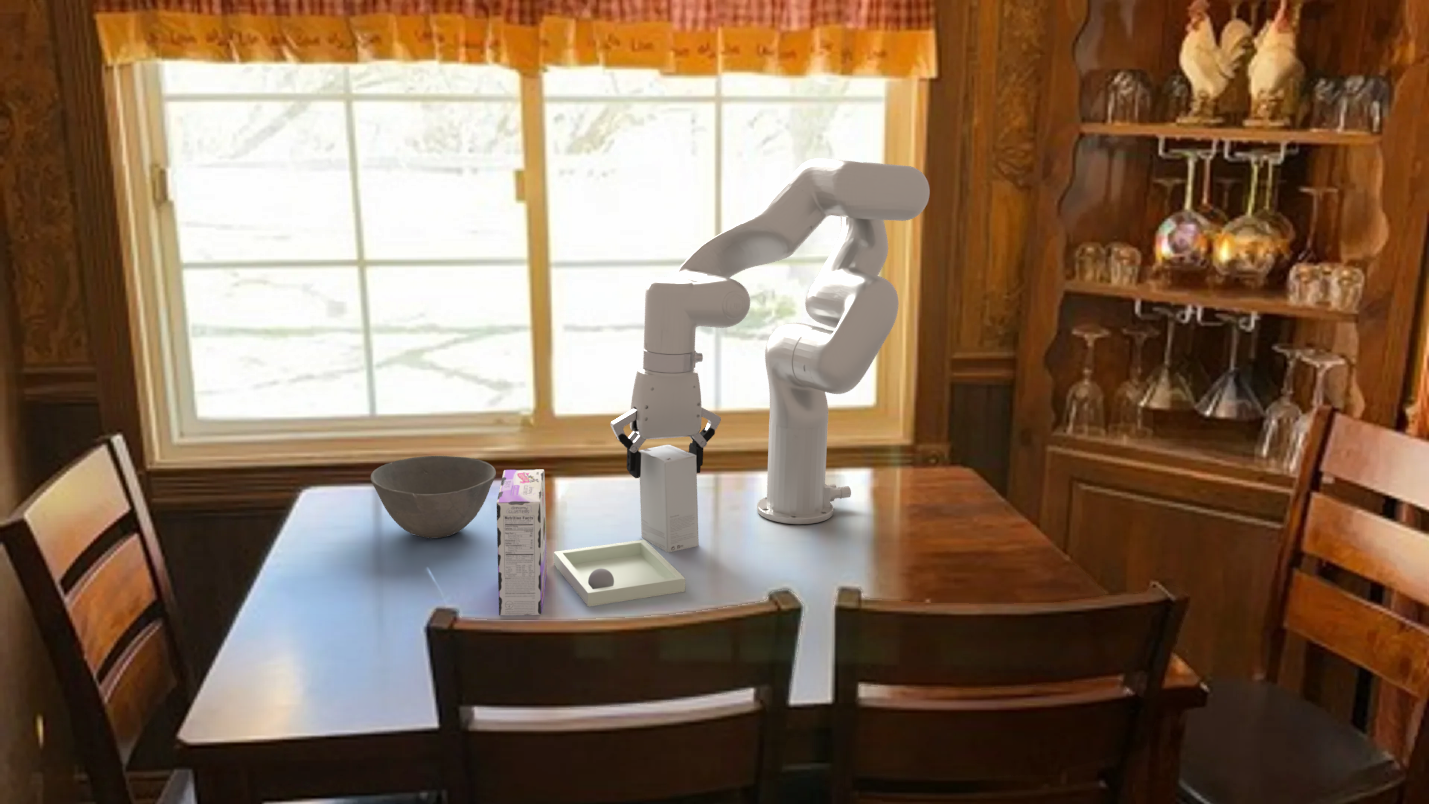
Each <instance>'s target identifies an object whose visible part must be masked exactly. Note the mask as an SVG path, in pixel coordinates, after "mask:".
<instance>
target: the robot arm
mask: <svg viewBox="0 0 1429 804" xmlns="http://www.w3.org/2000/svg"><path fill="white" fill-rule="evenodd" d="M930 192H931V191H930V184H929V181H928V179H927V178H926V176H925V174H924V173H923V172H922V171H921V170H919V169H918V168H917V167H914V166H910V165H901V164H889V163H888V164H887V163H878V162H867V161H866V162H864V161H863V162H861V161H860V162H859V161H854V160H842V159H832V158H831V159H830V158H813V159H809V160H807V161H805V162H803V163H802V164H801V165H800V166H798V168H797V169H795V171H794V172H793V173H792V174H791V175H790V176H788V178H787V179H786V180H785V181H784V182H783V183H782V184H781V185H780V186H779V187H778V188H777V190H775V192H774V193H773V194H771V196H770V197H769V198H768V199H767V200H766V201H765V202H764V203H763V204H762V206H761V207H760V208H759V209H758V210H756V212H755V213H753V215H752V216H751V217H749V218H748V219H745V220H743V221H741V222H739V223H737V224H735V225H733V226H732V227H730V228H727V230H724V231H723V232H721V233H719V234H718V235H716V236H714V237H712V238H710V239H709V240H708V241H706V242H705V243H703V244H702V245H700V246H699V247H698V248H697V249H696V250H695V251H694V252H693V253H692V254H691V255H689V256H688V258H687V259H685V261H684V262H683V263H682V264H681V265H680V267H679V268H678V269H677V270H676V271H675V273H674V274H673V276H672V277H671V276H670V277H669V276H666V277H665V276H664V277H660V276H659V277H655V278H652V279H649V281H648V282H647V283H646V287H645V297H644V301H645V302H644V329H643V330H644V331H643V333H644V334H643V336H644V337H643V359H642V360H643V362H642V363H643V364H642V365H643V366H642V368H640V369H637V372H636V375H635V380H634V384H633V390H632V396H631V405H630V410H629V411H627V412H626V413H624V414H622V415H620V416H619V417H617V418H616V419H614V420H612V421H611V422H610V427H611V430H612V432H613V433H614V435H615V438H616V439H617V441H618V442H620V443H621V445H623V446H624V447H625V448H626V471H628V473H629V474H630V475H631V476H632V477H633V478H634V479H640V476H641V453H640V452H639V450H640V448H641V447H642V445H643V444H645V442H646V441H647V440H659V439H660V440H661V439H662V440H663V439H677V438H686V437H687V438H688V437H689V438H690V440H691V441H692V442H689V445H688V452H689V453H692V454H694V455H696V467H697V474H700V473H701V468H702V467H701V466H703V463H704V448H706V447H707V445H708V442H709V441H710V440H711V439H712V437H714V436H715V434H716V430H717V429H718V426H719V425H720V423H721V421H722V417H721V416H719V415H718V414H716V413H714V412H712V411H710V410H708V409H706V408H704V407H702V394H701V393H702V392H701V385H700V378H699V372H698V370H696V369H695V368H696V364H697V363H701V362H703V359H704V358H703V357H704V356H703V353H701V352H697V351H696V331H697V330H696V329H697V327H705V328H706V327H708V328H717V329H718V328H720V329H723V328H725V329H726V328H731V327H734V326H737V324H740V323H741V322H742V321H743V320H744V319H746V317H747V315H748V313H749V311H750V308H751V307H750V306H751V297H750V294H749V292H748V290H747V289H746V287H745V286H744V285H743V284H742V283H740V281H737V280H735V279H733V278H731V277H733V276H735V275H737V274H738V273H741V272H743V271H745V270H747V269H750V268H754V267H755V268H756V267H757V266H763V265H768V264H773V263H775V262H779V261H781V260H784V259H787V258H789V257H790V256H792V255H794V253H795V252H796V251H797V250H798V249H799V248H800V246H802V245H803V244H804V242H805V241H806V240H807V239H808V238H809V237H810V236H811V234H813V233H814V231H816V229H817V228H818V227H819V225H821V224H822V223H823V222H824V221H825V219H826V218H828V217H829V216H835V217H840V223H841V224H840V233H839V236H838V239H837V241H836V243H835V244H834V247H833V249H832V250H831V252H830V254H829V255H828V257H827V259H826V260H825V262H824V263H823V265H822V267H821V268H820V270H819V272H818V274H817V275H816V277H815V279H814V280H813V282H812V284H811V285H810V287H809V290H808V291H807V294H806V297H805V302H804V303H805V304H804V305H805V310H806V313H807V314H808V316H809V317H810V318H812V320H813V321H816V322H817V323H819V324H820V325H821V324H822V325H823V326H828V327H831V328H834V330H830V329H826V328H824V327H819V326H815V325H811V324H806V323H802V322H790V323H785V324H783V325H780V326H778V327H777V328H775V330H774V331H773V332H772V333H771V335H769V337H768V339H767V342H766V344H765V345H766V346H765V349H764V350H765V351H764V361H765V368H766V373H767V379H768V388H769V390H768V391H769V420H768V421H769V422H768V451H767V452H768V453H767V455H768V456H767V479H766V480H767V482H766V483H767V485H766V496H765V497H763V498H762V499H760V500H758V502H757V505H756V506H757V507H756V509H757V510H756V511H757V513H758V514H759V515H760V516H762V518H765V519H767V520H769V521H772V522H777V523H781V524H790V525H808V524H809V525H811V524H816V523H821V522H824V521H826V520H829V519H830V518H831V517H832V516H834V505H833V504H832V503H833V502H835V500H837V499H839V500H841V499H847V498H851V496H852V490H851V488H850V486H848V485H847V486H839V487H837V485H836V484H835V483H833V484H826V472H827V470H826V469H827V448H828V424H829V404H828V399H827V395H826V393H828V394H832V395H842V394H846V393H848V392H850V391H851V390H853V389H854V388H855V387H857V385H858V384H859V383H860V382H861V381H862V379H863V377H865V375H866V374H867V372H868V370H869V369H870V367H871V365H872V363H873V361H874V360H875V358H876V356H877V355H878V353H879V351H880V350H881V348H882V346H883V345H884V343H885V341H886V339H887V338H888V336H889V334H890V333H891V331H892V329H893V327H894V325H895V323H896V321H897V316H898V310H899V295H898V293H897V290H896V288H895V286H894V285H893V284H892V283H891V282H890V281H889V280H888V279H886V278H885V277H883V276H880V272H881V271H882V269H883V268H884V267H883V266H884V265H885V263H886V260H887V258H888V253H889V240H888V234H887V231H886V227H885V226H886V225H885V221H901V222H903V221H904V222H906V221H911V220H912V219H915V218H917V217H918V216H920V214H922V212H923V211H924V210H925V208H926V206H927V205H928V204H929V200H930V199H929V198H930ZM702 418H704V419H705V420H707V423H706V426H704V428H702ZM628 425H629V427H630V428H629V429H630V430H631V431H632V432H631V434H630V435H629V436H627V434H626V433H625V430H624V428H625V427H626V426H628ZM701 429H702V430H701Z"/></svg>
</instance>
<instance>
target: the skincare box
mask: <svg viewBox="0 0 1429 804" xmlns="http://www.w3.org/2000/svg"><path fill="white" fill-rule="evenodd" d="M638 451H639V452H640V453H641V476H640V477H639V497H640V498H639V499H640V500H639V503H640V527H641V537H642V539H643V540H644V539H645V540H646V541H647V542H648V543H649V544H652V545H653V546H655V547H657V548H659V549H661V550H663V551H664V552H666V553H671V552H676V551H677V552H678V551H681V550H685V549H690V548H694V547H699V544H700V543H699V510H698V509H699V508H698V507H699V505H698V479H697V478H698V475H697V474H698V473H697V467H696V455H694V454H692V453H689V451H686V450H684V449H682V448H679V447H677V446H674V445H671V443H669V444H663V445H659V446H655V447H654V446H653V447H649V448H644V449H638Z"/></svg>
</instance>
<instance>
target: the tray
mask: <svg viewBox="0 0 1429 804" xmlns="http://www.w3.org/2000/svg"><path fill="white" fill-rule="evenodd" d="M553 565H554V566H555V567H556V569H557V571H558V572H560V574H561V575H562V576H563V577H564V579H565V580H566V581H567V583H568V584H569V585H570V586H571V588H573V590H574V591H575V592H576V594H577V595H578V596H579V597H580V599H582V601H583V603H584V604H585V605H586V606H587V607H594V606H595V607H596V606H601V605H607V604H614V603H619V602H620V603H621V602H626V601H634V600H640V599H646V598H652V597H659V596H665V595H670V594H671V595H672V594H677V593H685V592H686V577H684V575H682V573H681V572H680V571H679V570H677V569H676V568H675V567H674V566H673V565H672V564H671V563H670V562H669V561H668V560H667V559H666V558H665V557H664V556H662V555H661V553H659V552H658V550H656V549H655V548H654V547H653V546H652V545H651V543H650V542H649V541H647V540H645V539H644V538H643V539H639V540H638V539H637V540H630V541H624V542H617V543H608V544H603V545H593V546H587V547H577V548H571V549H565V550H564V549H563V550H558V551H553ZM600 568H602V569H606V570H608V571H610V572H611V574H612V575H613V578H614V585H613V586H611V587H604V588H598V589H592V588H591V586H590V585H589V584H588V579H589V576H590V574H591V573H592V572H593V571H594V570H596V569H600Z"/></svg>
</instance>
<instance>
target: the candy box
mask: <svg viewBox="0 0 1429 804" xmlns="http://www.w3.org/2000/svg"><path fill="white" fill-rule="evenodd" d="M545 476H546V475H545V469H540V468H539V469H533V468H532V469H529V468H528V469H504V470H503V473H502V477H501V483H500V485H499V486H500V487H499V491H498V495H497V500H496V532H497V535H496V538H497V539H496V540H497V541H496V543H497V545H496V546H497V584H498V585H497V586H498V587H497V589H498V591H497V593H498V615H499V616H538V615H542V614H543V613H542V612H543V605H544V599H545V591H546V581H547V576H548V574H547V573H548V572H547V570H548V569H547V568H548V566H547V563H548V562H547V560H548V559H547V524H546V523H547V517H546V513H547V512H546V480H545V479H546V478H545Z"/></svg>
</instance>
